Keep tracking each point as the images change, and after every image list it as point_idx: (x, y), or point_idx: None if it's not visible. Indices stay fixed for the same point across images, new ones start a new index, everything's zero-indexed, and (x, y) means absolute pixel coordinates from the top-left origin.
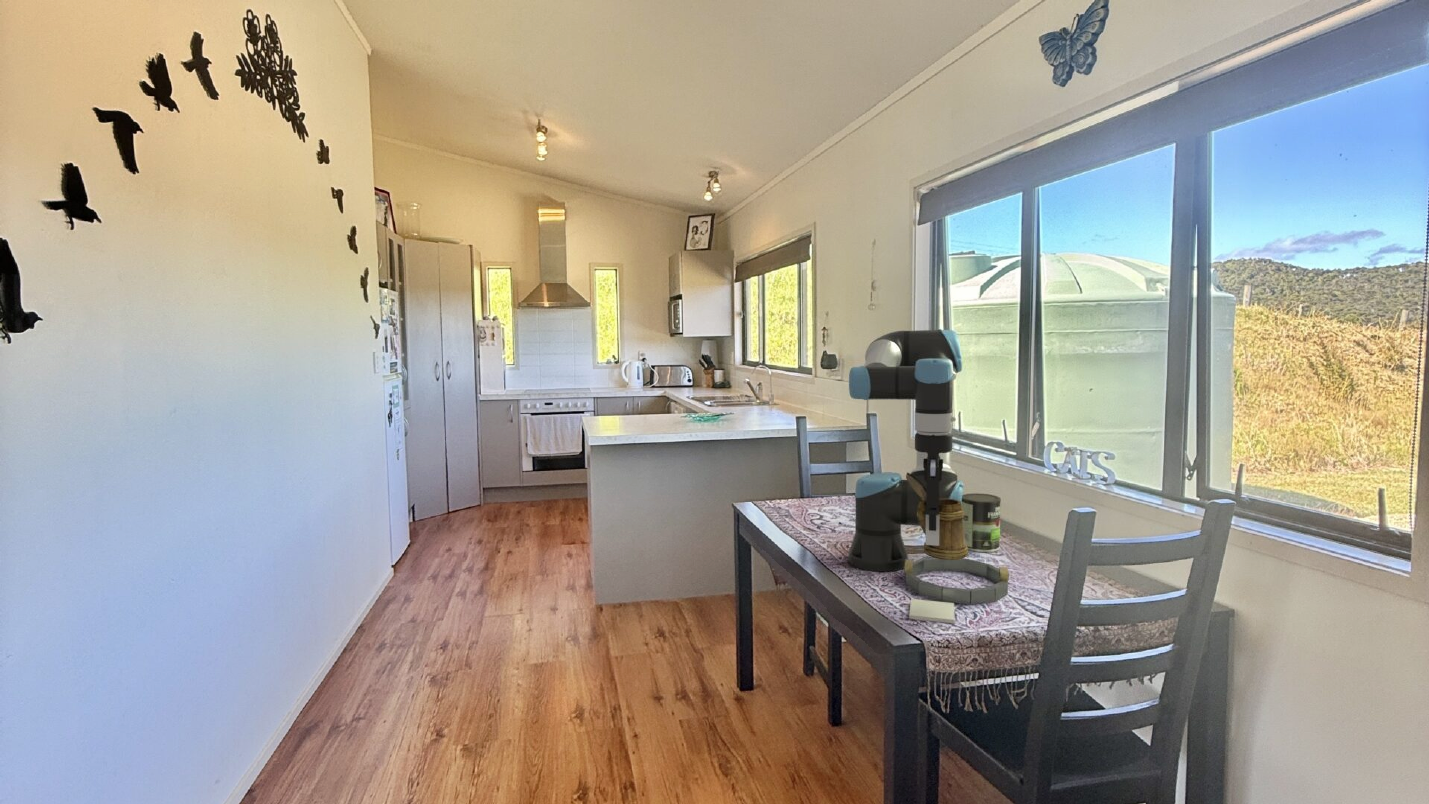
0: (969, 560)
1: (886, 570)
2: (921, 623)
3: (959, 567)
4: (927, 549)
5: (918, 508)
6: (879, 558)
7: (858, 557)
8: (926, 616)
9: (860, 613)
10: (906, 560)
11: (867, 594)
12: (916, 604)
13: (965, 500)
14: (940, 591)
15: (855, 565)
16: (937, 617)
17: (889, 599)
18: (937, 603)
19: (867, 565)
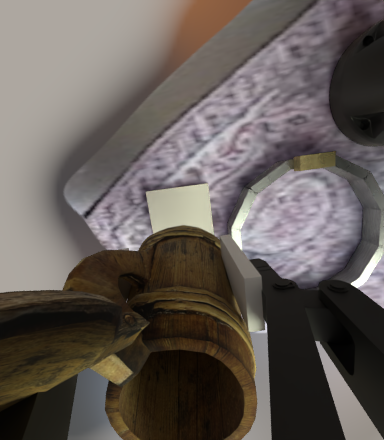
0: (379, 251)
1: (334, 116)
2: (138, 209)
3: (367, 232)
4: (143, 245)
5: (66, 280)
6: (351, 94)
7: (359, 45)
8: (150, 215)
9: (134, 117)
10: (328, 154)
11: (215, 108)
12: (189, 194)
13: None
14: (231, 224)
15: (347, 49)
16: (153, 229)
17: (207, 148)
18: (204, 222)
19: (338, 75)
